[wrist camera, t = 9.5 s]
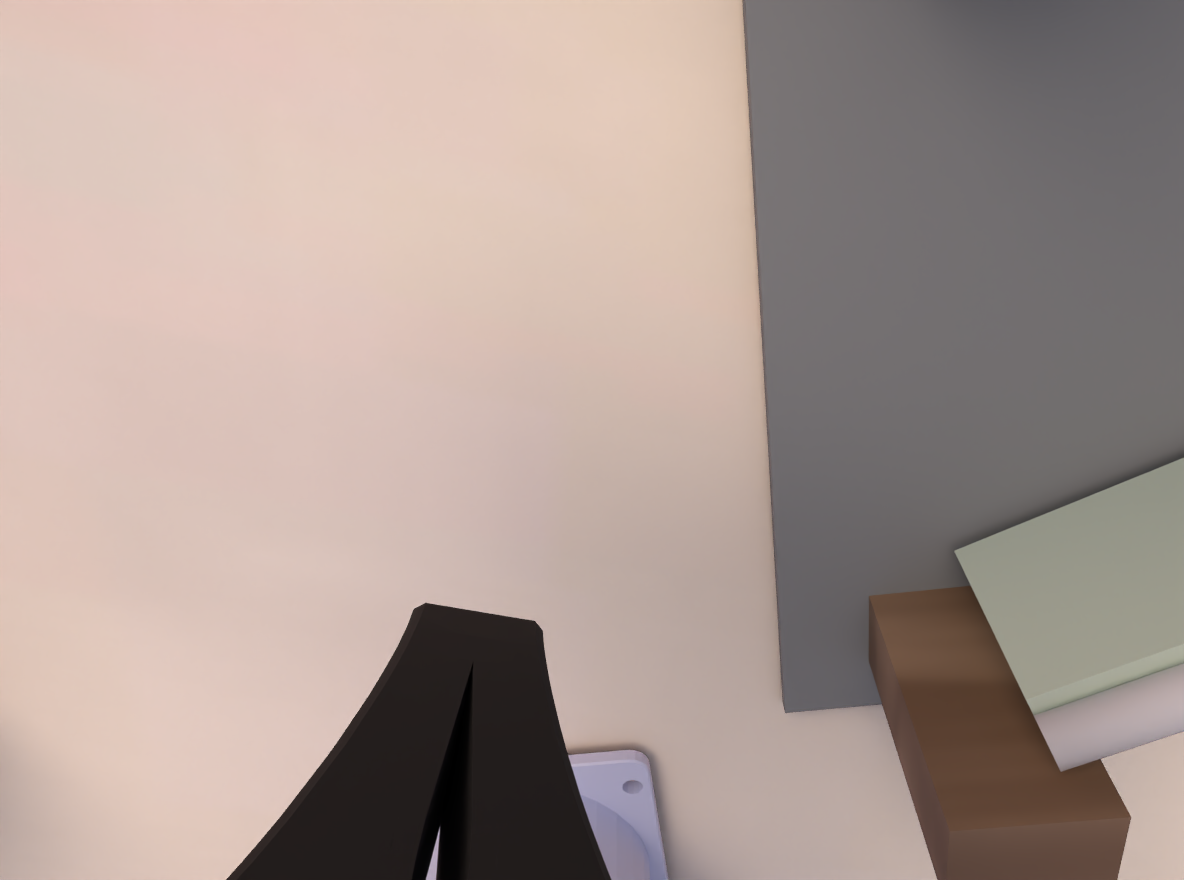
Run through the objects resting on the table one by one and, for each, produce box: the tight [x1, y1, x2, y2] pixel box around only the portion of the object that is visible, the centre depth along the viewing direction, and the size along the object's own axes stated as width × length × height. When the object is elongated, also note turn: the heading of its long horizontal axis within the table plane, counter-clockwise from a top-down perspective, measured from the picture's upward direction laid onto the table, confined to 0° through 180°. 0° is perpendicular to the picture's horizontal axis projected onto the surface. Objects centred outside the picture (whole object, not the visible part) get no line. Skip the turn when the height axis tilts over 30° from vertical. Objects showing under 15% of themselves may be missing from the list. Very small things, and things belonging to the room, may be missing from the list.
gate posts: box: [869, 586, 1131, 880], centre depth 16 cm, size 18×3×6 cm, turn 8°
